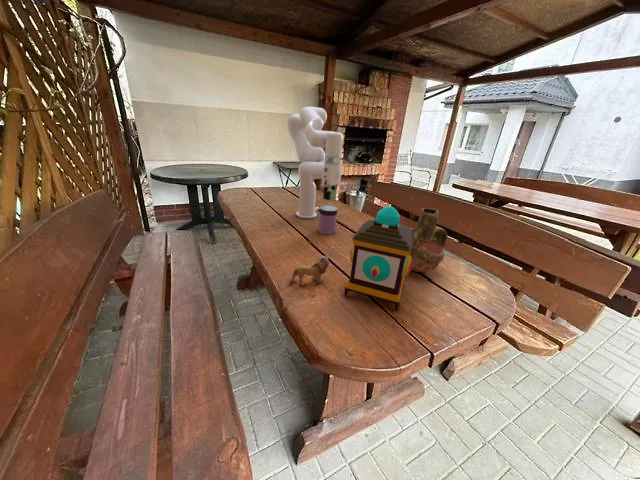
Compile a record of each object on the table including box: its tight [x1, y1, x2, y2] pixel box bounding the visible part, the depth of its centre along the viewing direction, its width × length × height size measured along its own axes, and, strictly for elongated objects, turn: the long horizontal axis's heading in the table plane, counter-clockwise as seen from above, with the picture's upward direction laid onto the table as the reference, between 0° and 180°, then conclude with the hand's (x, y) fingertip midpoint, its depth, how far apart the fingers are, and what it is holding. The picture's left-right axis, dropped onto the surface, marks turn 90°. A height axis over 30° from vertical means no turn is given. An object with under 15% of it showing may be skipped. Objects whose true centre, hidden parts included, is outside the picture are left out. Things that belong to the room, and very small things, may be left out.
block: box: [323, 188, 338, 202], centre depth 129 cm, size 4×4×4 cm
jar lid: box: [318, 205, 338, 216], centre depth 133 cm, size 9×9×2 cm
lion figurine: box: [288, 255, 330, 287], centre depth 90 cm, size 15×5×9 cm, turn 116°
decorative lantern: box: [343, 205, 414, 312], centre depth 84 cm, size 20×20×30 cm
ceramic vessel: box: [409, 207, 448, 273], centre depth 101 cm, size 17×26×25 cm, turn 117°
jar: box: [317, 213, 338, 236], centre depth 135 cm, size 9×9×12 cm
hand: (329, 198), depth 130 cm, fingers closed on block, 4 cm apart
